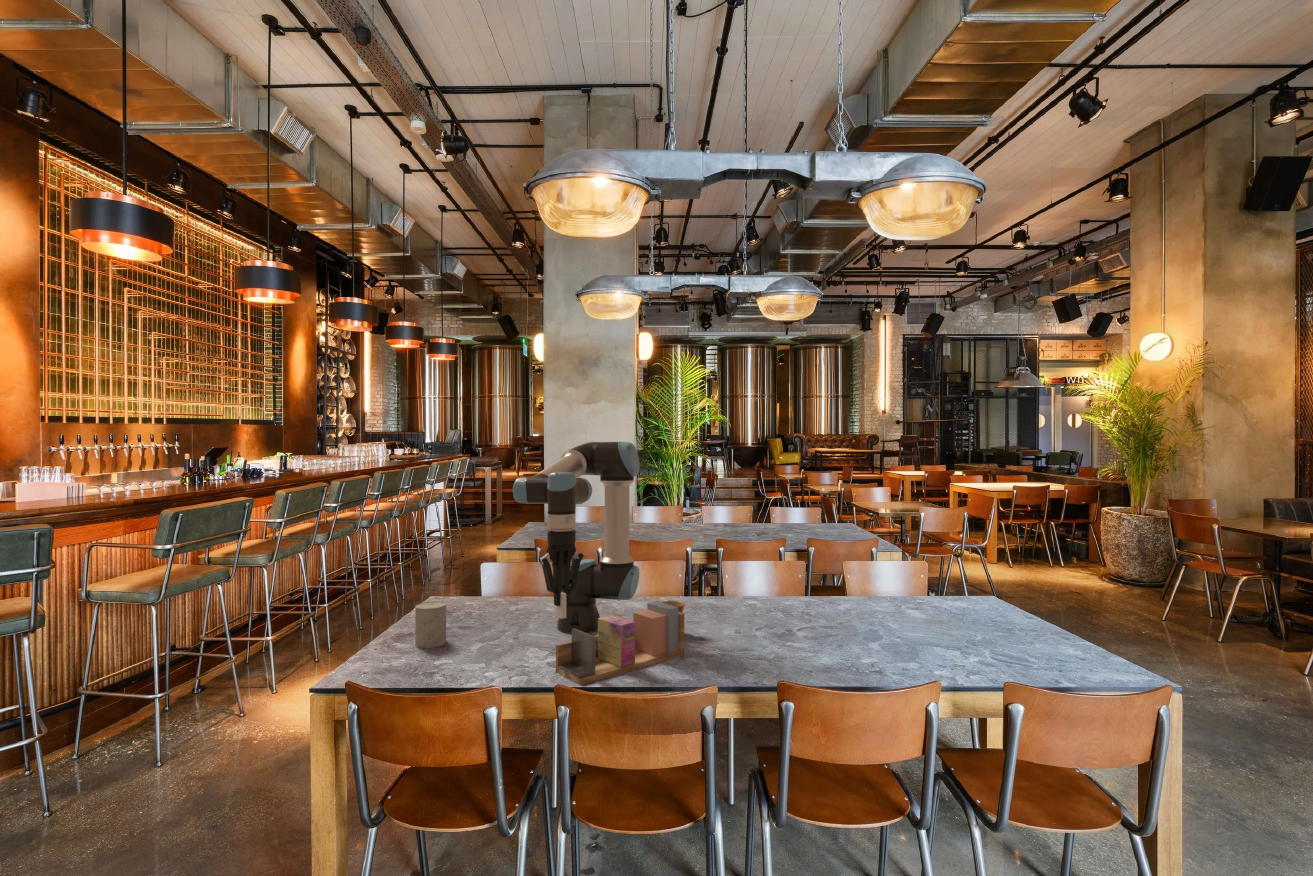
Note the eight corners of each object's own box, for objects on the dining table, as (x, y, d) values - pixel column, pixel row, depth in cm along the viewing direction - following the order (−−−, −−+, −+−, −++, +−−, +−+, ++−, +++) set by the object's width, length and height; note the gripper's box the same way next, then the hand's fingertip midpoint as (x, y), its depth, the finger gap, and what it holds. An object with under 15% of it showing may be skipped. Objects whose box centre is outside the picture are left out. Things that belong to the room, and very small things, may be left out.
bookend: (559, 668, 173) (559, 631, 173) (575, 663, 177) (575, 628, 177) (579, 678, 166) (579, 640, 166) (595, 673, 169) (595, 636, 169)
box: (636, 663, 178) (636, 621, 178) (621, 668, 174) (621, 625, 174) (612, 654, 185) (612, 614, 185) (597, 659, 181) (597, 618, 181)
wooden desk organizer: (555, 671, 175) (555, 626, 175) (656, 644, 199) (656, 605, 199) (581, 685, 165) (581, 637, 165) (684, 655, 189) (684, 613, 189)
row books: (633, 648, 190) (633, 605, 190) (657, 642, 196) (657, 600, 196) (654, 657, 182) (654, 612, 183) (678, 650, 189) (678, 607, 189)
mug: (661, 630, 215) (661, 600, 215) (686, 631, 213) (686, 601, 213) (654, 640, 203) (654, 609, 203) (680, 642, 201) (680, 610, 201)
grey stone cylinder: (452, 641, 203) (453, 603, 203) (430, 649, 194) (431, 610, 194) (430, 637, 207) (431, 600, 207) (408, 645, 198) (408, 606, 198)
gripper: (547, 532, 161) (547, 624, 161) (589, 528, 170) (589, 616, 169) (533, 530, 167) (532, 618, 167) (574, 526, 176) (574, 610, 175)
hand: (561, 617), depth 168 cm, fingers closed
